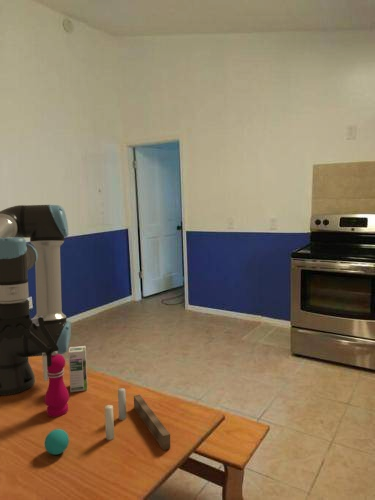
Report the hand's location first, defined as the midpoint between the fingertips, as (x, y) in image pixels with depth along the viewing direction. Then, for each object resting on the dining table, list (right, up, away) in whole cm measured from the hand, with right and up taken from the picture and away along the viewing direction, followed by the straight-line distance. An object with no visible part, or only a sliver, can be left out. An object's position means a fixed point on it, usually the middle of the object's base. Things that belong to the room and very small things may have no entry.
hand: (16, 384), depth 96 cm
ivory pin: (+21, -19, +11) cm, 30 cm away
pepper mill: (+2, -17, +25) cm, 31 cm away
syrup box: (+4, -15, +41) cm, 44 cm away
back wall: (+32, -18, +16) cm, 40 cm away
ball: (+8, -16, +5) cm, 19 cm away
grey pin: (+23, -17, +21) cm, 35 cm away
